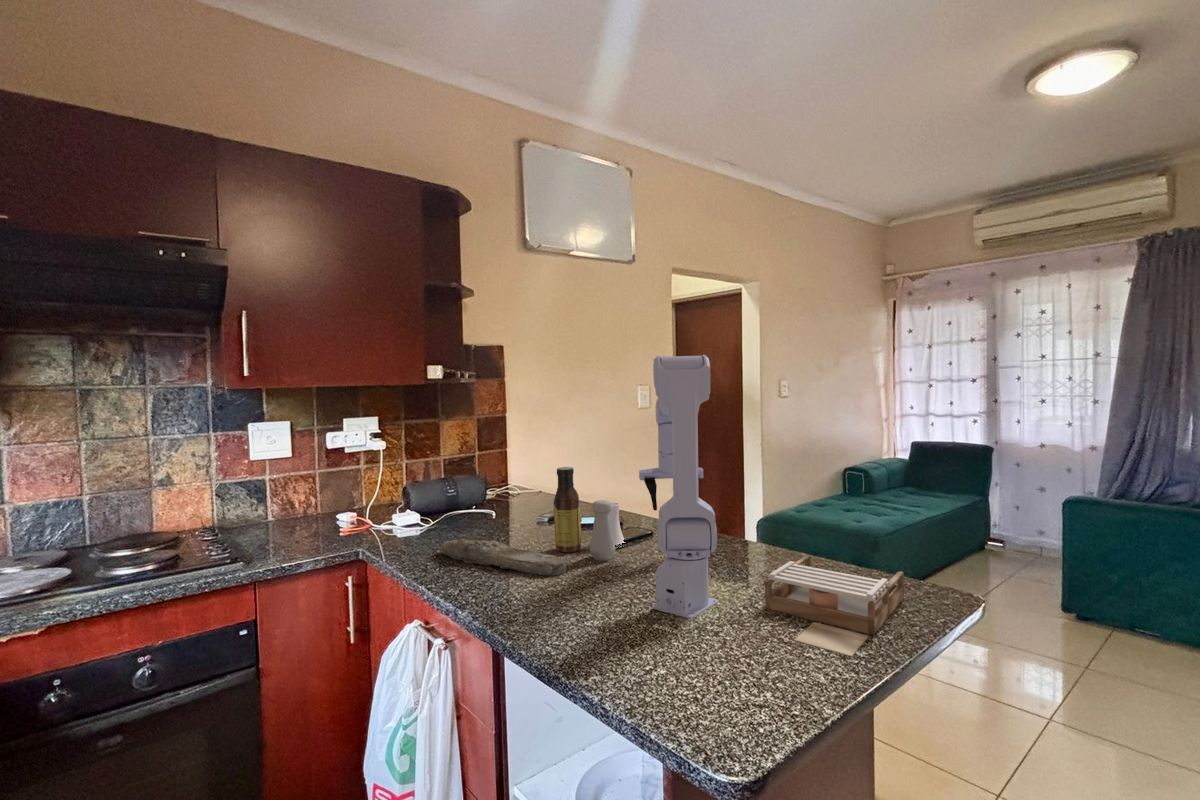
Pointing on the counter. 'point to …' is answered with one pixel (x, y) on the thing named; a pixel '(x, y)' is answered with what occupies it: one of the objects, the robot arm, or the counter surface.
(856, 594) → the cover
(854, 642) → the mat
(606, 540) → the salt shaker
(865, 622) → the box
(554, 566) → the long grey stone
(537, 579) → the counter surface
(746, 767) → the counter surface
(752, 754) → the counter surface
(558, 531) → the sauce bottle
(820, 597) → the pot
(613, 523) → the vase
